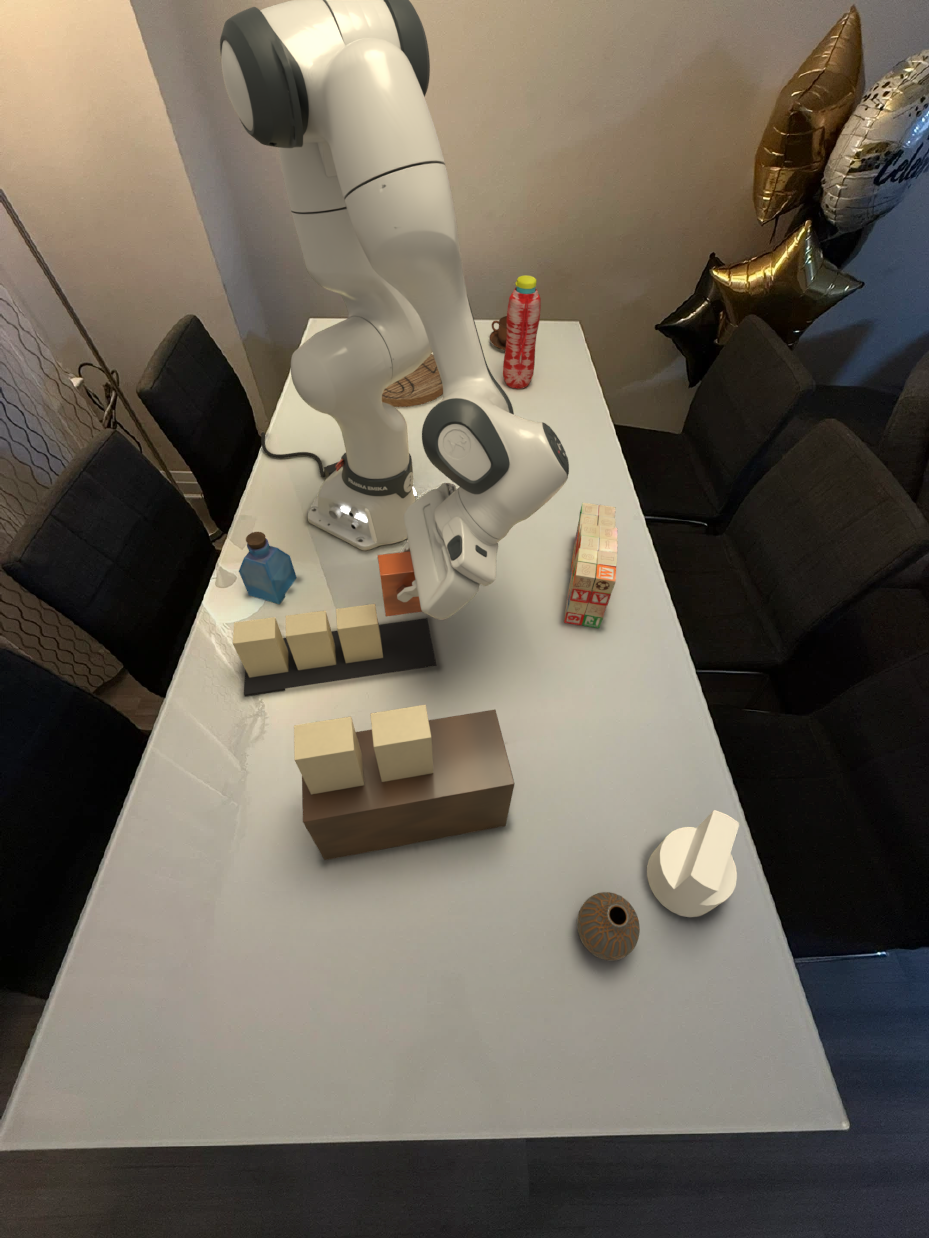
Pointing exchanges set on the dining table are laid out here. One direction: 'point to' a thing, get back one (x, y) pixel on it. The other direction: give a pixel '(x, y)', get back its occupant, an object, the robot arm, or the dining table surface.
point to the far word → (328, 648)
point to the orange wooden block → (397, 582)
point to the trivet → (415, 386)
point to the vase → (608, 926)
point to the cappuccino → (499, 333)
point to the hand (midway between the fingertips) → (397, 583)
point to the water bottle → (521, 333)
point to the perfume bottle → (266, 569)
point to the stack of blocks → (592, 566)
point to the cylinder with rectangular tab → (695, 866)
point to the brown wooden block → (401, 779)
